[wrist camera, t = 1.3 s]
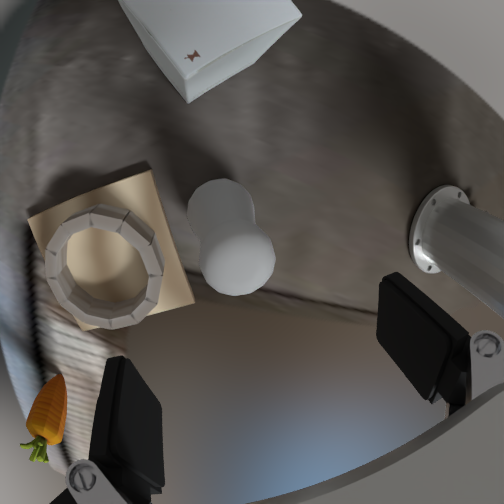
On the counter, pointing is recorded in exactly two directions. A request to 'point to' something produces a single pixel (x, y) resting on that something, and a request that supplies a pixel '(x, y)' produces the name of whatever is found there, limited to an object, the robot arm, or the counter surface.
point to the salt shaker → (230, 238)
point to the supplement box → (207, 37)
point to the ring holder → (112, 254)
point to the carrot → (47, 418)
